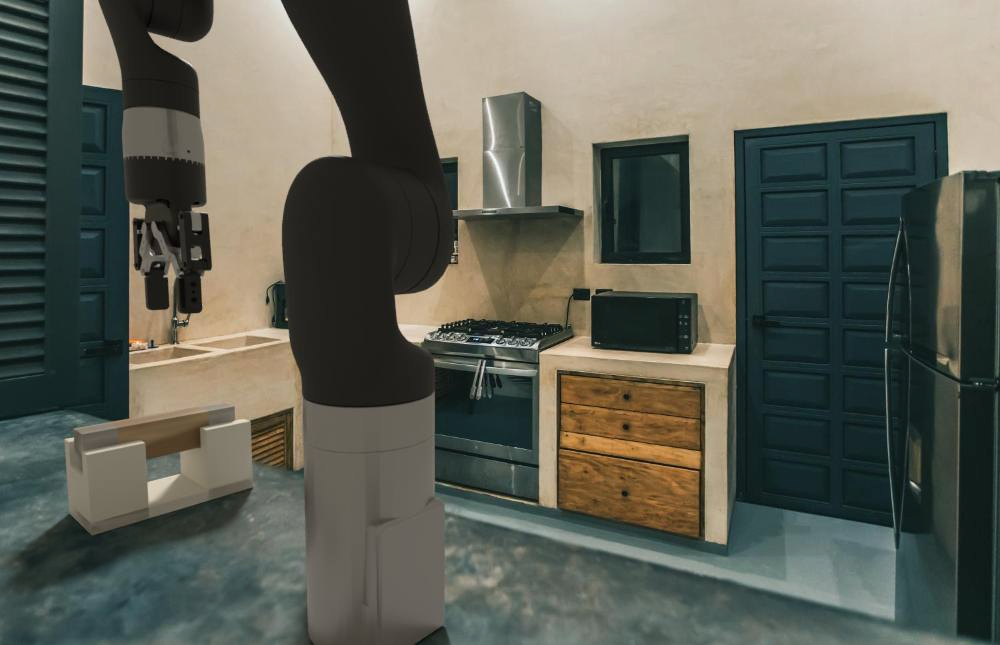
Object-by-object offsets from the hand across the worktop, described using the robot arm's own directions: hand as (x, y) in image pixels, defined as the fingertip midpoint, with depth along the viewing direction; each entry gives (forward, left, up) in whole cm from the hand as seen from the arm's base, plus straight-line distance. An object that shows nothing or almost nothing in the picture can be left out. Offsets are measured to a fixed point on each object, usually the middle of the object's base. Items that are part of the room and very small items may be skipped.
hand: (173, 311), depth 62 cm
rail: (+1, +2, -16) cm, 16 cm away
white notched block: (+1, +1, -21) cm, 21 cm away
